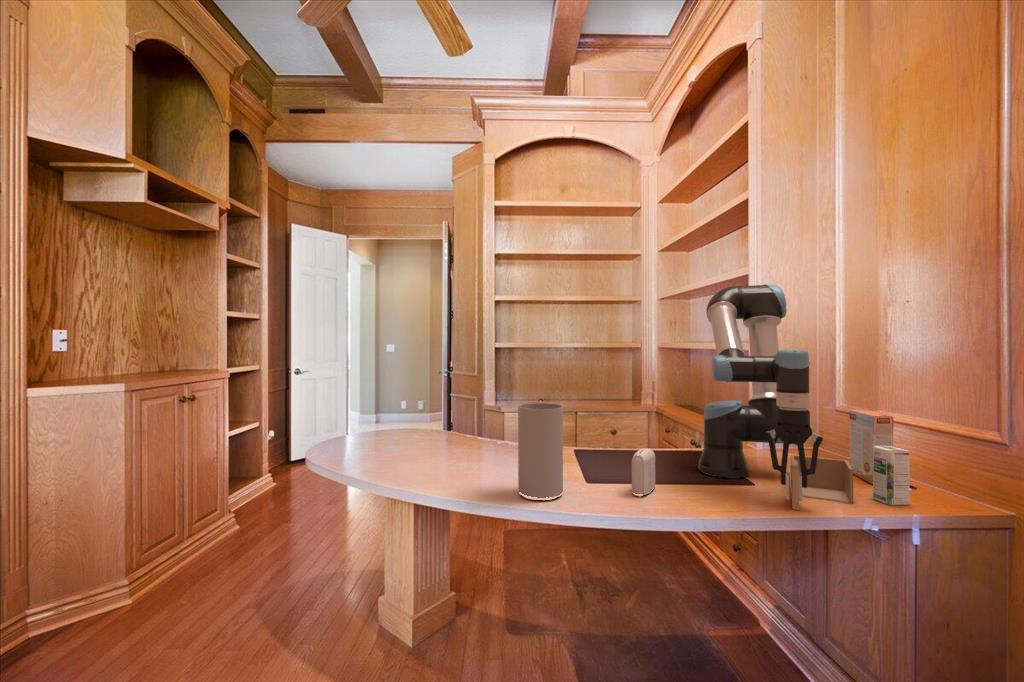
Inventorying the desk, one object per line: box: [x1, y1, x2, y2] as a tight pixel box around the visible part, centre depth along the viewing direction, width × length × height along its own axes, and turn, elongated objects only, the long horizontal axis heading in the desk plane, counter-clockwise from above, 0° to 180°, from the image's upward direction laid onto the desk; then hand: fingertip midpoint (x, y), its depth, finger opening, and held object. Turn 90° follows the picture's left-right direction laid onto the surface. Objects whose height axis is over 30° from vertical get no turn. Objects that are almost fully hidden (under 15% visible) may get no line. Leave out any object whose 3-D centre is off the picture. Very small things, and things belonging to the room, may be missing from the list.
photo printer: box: [631, 447, 656, 495], centre depth 136 cm, size 10×4×12 cm, turn 144°
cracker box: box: [849, 409, 895, 485], centre depth 147 cm, size 14×6×21 cm, turn 168°
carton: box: [790, 454, 854, 504], centre depth 134 cm, size 14×11×9 cm
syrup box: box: [872, 446, 911, 506], centre depth 127 cm, size 6×6×14 cm
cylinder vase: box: [517, 402, 564, 498], centre depth 134 cm, size 12×12×25 cm
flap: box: [790, 459, 800, 511], centre depth 126 cm, size 12×2×10 cm, turn 151°
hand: (794, 498), depth 124 cm, fingers open, 2 cm apart
